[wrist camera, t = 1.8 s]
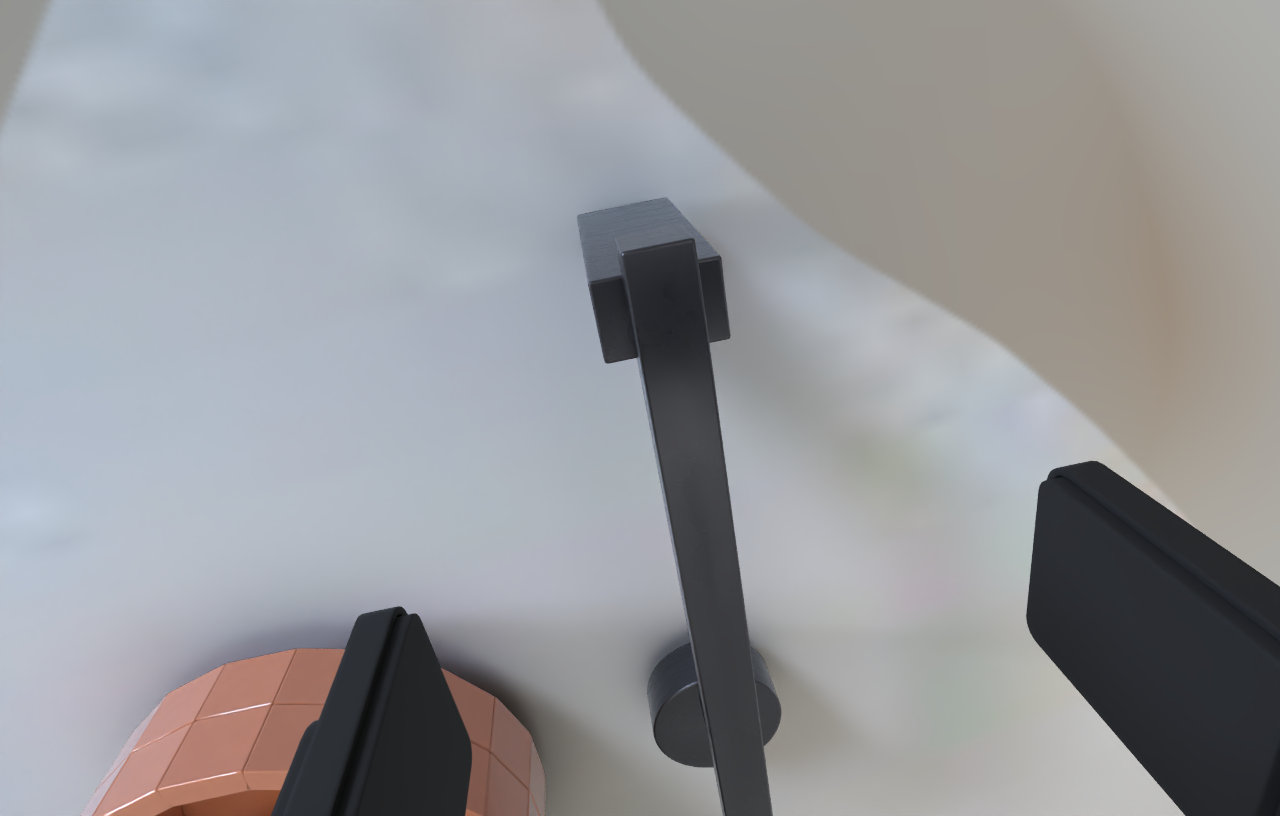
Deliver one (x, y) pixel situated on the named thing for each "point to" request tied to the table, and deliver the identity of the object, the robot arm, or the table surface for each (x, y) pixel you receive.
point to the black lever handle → (687, 487)
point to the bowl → (286, 743)
